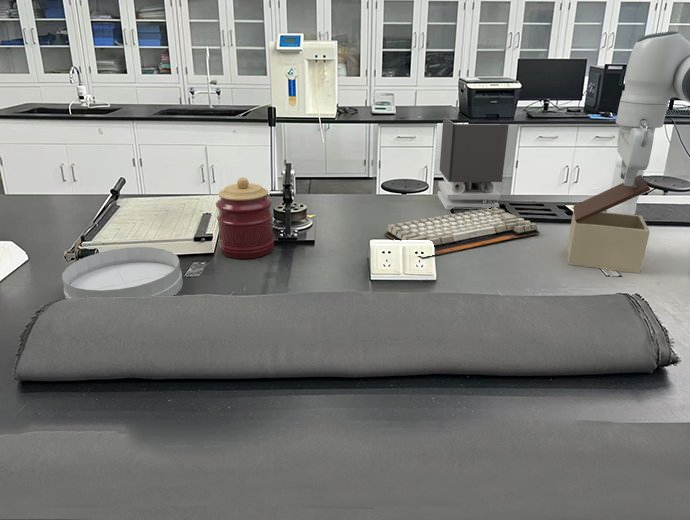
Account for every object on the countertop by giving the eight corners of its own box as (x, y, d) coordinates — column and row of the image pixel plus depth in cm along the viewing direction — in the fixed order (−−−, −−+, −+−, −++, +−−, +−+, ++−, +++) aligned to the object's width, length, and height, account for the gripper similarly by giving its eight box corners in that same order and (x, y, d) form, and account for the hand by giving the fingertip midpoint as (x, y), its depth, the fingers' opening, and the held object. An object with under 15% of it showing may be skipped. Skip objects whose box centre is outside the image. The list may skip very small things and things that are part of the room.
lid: (642, 177, 119) (632, 158, 119) (650, 190, 109) (639, 169, 109) (574, 208, 127) (565, 190, 126) (576, 223, 117) (566, 203, 116)
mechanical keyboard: (422, 258, 123) (423, 245, 122) (380, 234, 139) (381, 222, 137) (542, 235, 139) (543, 222, 138) (492, 215, 155) (493, 204, 153)
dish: (166, 260, 122) (163, 240, 120) (197, 296, 104) (194, 273, 103) (59, 282, 111) (54, 260, 109) (74, 326, 93) (68, 301, 92)
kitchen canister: (247, 236, 137) (242, 168, 130) (285, 247, 130) (282, 176, 123) (208, 251, 127) (201, 179, 120) (247, 264, 120) (242, 188, 113)
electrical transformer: (446, 209, 159) (453, 124, 149) (435, 192, 177) (441, 115, 167) (498, 209, 159) (508, 124, 149) (483, 192, 177) (491, 115, 167)
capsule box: (632, 254, 126) (641, 215, 122) (639, 273, 116) (649, 231, 112) (566, 247, 131) (573, 209, 127) (568, 264, 120) (575, 223, 117)
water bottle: (636, 228, 144) (658, 134, 134) (622, 233, 140) (643, 137, 131) (612, 221, 149) (631, 131, 140) (597, 225, 146) (616, 133, 136)
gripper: (667, 124, 100) (649, 195, 106) (649, 111, 118) (635, 173, 123) (630, 122, 102) (615, 192, 108) (618, 110, 120) (606, 170, 125)
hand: (625, 181), depth 116 cm, fingers closed on lid, 5 cm apart
